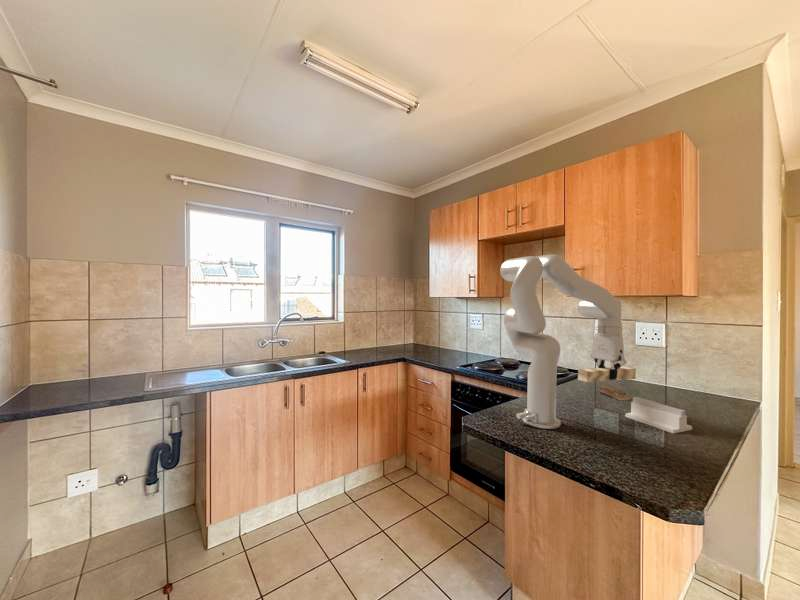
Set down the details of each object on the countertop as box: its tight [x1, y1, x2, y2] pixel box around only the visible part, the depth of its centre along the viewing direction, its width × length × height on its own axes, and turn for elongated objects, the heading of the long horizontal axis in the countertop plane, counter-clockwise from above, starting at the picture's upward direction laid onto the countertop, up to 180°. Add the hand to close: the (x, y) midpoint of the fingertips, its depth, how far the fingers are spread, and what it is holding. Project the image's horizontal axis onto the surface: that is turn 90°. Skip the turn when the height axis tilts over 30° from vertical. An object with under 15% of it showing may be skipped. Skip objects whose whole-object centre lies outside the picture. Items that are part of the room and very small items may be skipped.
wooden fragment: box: [599, 384, 633, 402], centre depth 155 cm, size 26×11×1 cm, turn 161°
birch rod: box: [577, 366, 637, 383], centre depth 127 cm, size 26×4×4 cm, turn 110°
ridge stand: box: [624, 396, 693, 434], centre depth 118 cm, size 10×16×7 cm, turn 20°
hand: (607, 377), depth 127 cm, fingers closed on birch rod, 4 cm apart
